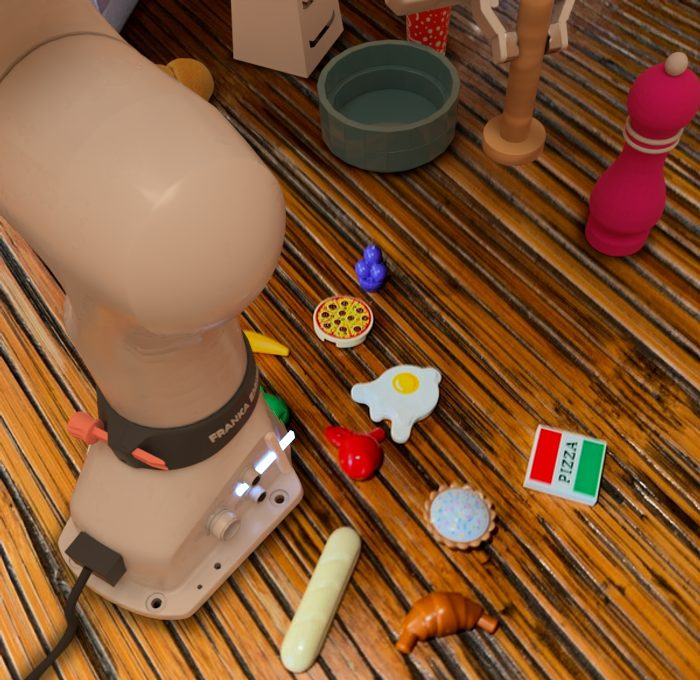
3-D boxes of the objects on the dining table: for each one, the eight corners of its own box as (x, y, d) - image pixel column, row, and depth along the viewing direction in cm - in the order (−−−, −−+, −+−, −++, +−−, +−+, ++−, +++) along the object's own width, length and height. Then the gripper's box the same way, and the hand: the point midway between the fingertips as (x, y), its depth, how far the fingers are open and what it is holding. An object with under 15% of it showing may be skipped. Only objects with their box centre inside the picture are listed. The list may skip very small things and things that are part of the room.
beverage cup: (398, 45, 96) (399, -77, 84) (446, 40, 96) (455, -83, 84) (405, 75, 93) (408, -46, 81) (454, 70, 93) (465, -52, 81)
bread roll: (222, 107, 92) (216, 77, 89) (150, 126, 91) (141, 96, 87) (205, 67, 96) (198, 36, 92) (136, 85, 95) (126, 55, 91)
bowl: (418, 194, 84) (420, 148, 78) (297, 151, 88) (291, 105, 82) (477, 109, 90) (483, 62, 85) (361, 73, 94) (359, 26, 89)
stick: (528, 173, 63) (565, -11, 50) (471, 154, 65) (492, -30, 51) (552, 135, 65) (594, -52, 52) (496, 117, 67) (523, -69, 53)
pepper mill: (649, 265, 78) (727, 86, 60) (577, 256, 78) (633, 78, 61) (651, 214, 81) (725, 30, 63) (581, 206, 82) (635, 23, 64)
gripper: (368, -158, 49) (406, 74, 53) (665, -210, 51) (680, 19, 55) (355, -114, 55) (389, 91, 59) (621, -162, 57) (637, 42, 61)
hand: (531, 56), depth 57 cm, fingers closed on stick, 2 cm apart
